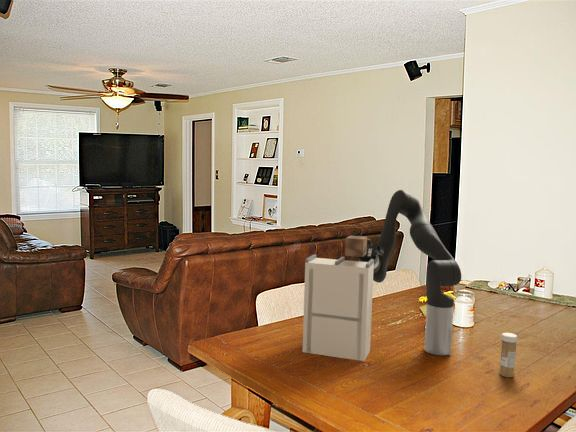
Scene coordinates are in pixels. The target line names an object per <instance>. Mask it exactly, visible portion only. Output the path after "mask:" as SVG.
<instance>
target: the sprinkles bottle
mask: <svg viewBox="0 0 576 432" xmlns="http://www.w3.org/2000/svg"><path fill="white" fill-rule="evenodd" d="M517 342H518V335H516V334H515V333H512V332H503V333H501V350H500V362H499V363H500V364H499V365H500V366H499V372H498V373H499V375H500V376H502V377H505V378H513V377H515V367H516V355H517Z"/></svg>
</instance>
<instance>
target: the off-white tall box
mask: <svg viewBox="0 0 576 432" xmlns="http://www.w3.org/2000/svg"><path fill="white" fill-rule="evenodd" d="M373 271H374V259H371V260H370V261H369V262H360V261H359V260H345V256H341V257H339V258H338V259H334V258H323V257H317V254H315V253H314V254H311V255H310V256H308V257H306V258H305V262H304V291H303V297H304V298H303V323H302V324H303V327H302V353H306V354H313V355H321V356H326V357H327V356H328V357H333V358H340V359H346V360H352V361H360V362H365V361H366V359H367V357H368V355H369V353H370V352H371V336H372V335H371V334H372V333H371V332H372V315H373V313H372V311H373V292H374V291H373V290H374V289H373V288H374V281H373Z"/></svg>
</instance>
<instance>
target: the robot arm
mask: <svg viewBox="0 0 576 432" xmlns="http://www.w3.org/2000/svg"><path fill="white" fill-rule="evenodd" d="M399 214H400V215H401V216H404V217H405V218H406V219H407V220H408V222H409V223H410V228H409V235H410V238H411V240H412V242H413V244H414V245H415V247H416V248H417V249H418V251H420V252H421V253H423V254H425V255H426V256H428V257H429V258H431V259H432V260H430V261H429V262H428V264H427V266H426V274H425V275H426V279H425V280H426V282H425V283H426V284H425V285H426V289H425V292H426V293H425V294H426V314H425V315H426V317H425V328H424V329H425V331H424V332H425V333H424V347H423V348H424V351H425V352H426V353H428V354H431V355H435V356H451V355H452V340H453V339H452V338H453V323H454V322H453V321H454V305H455V300H454V297H453V296H451V295H448V294H446V293H444V292H442V287H453V286H457V285H459V284H460V283H461V280H462V271H461V268H460V265H459V264H458V262H457V261H456V259H455V258H454V257H453V256H452V254H451V253H450V252H449V251H448V249H447V247H446V246H445V244H443V242H442V241H441V239H440V237H439V235H438V233H437V232H436V230H435V228H434V227H433V225H432V224H431V222H430V220H429V219H428V217H427V216H426V214H425V212H424V209H423V207H422V204H421V203H420V201H419V199H418V198H417V197H416V196H415V195H413V194H411V193H410V192H408V191H406V190H403V189H397V190H396V191H395V192H394V193H393V195H391V198H390V200H389V203H388V207H387V211H386V214H385V218H384V222H383V226H382V230H381V233H380V236H379V238H378V241H377V242H376V243H374V244H373V242H372V240H371V239H370V238H367V247H368V249H367V254H366V255H365V256H364V257H357V258H358V261H360V262H369V261H370V260H371V259H374V271H373V282H376V283H379V284H380V283H382V282H384V280H385V279H386V276H387V272H388V264H389V261H390V257H391V255H392V252H393V251H394V248H395V246H396V245H395V244H396V241H397V239H396V238H397V233H396V231H397V230H396V225H397V224H396V222H397V218H398V216H399ZM369 239H370V240H369Z"/></svg>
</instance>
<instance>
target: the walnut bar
mask: <svg viewBox="0 0 576 432" xmlns="http://www.w3.org/2000/svg"><path fill="white" fill-rule="evenodd" d="M367 239H369V240H370V241H371V238H368V236H363V235H349V236H347V237H346V238H345V253H344V257H345V256H347V257H356V258H358V257H364V256H365V255H366V254H367V249H368V247H367Z"/></svg>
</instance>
